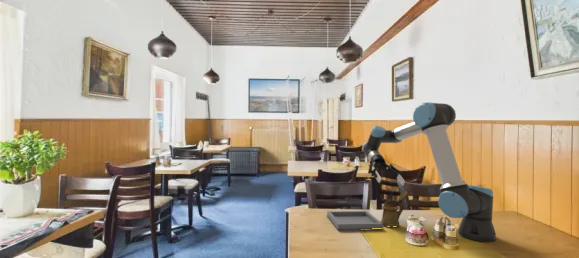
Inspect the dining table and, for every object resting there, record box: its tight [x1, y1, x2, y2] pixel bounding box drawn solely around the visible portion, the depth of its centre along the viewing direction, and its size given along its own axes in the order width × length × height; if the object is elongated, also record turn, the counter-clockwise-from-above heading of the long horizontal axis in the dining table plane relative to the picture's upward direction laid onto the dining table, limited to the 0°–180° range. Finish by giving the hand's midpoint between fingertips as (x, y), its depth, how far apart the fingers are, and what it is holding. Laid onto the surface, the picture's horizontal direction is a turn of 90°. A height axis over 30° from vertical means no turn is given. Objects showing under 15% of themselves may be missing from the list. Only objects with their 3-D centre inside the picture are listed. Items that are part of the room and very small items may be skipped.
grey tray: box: [326, 210, 384, 232], centre depth 165 cm, size 22×22×3 cm
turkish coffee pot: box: [380, 189, 410, 227], centre depth 163 cm, size 9×14×18 cm, turn 92°
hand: (392, 182), depth 167 cm, fingers open, 13 cm apart
